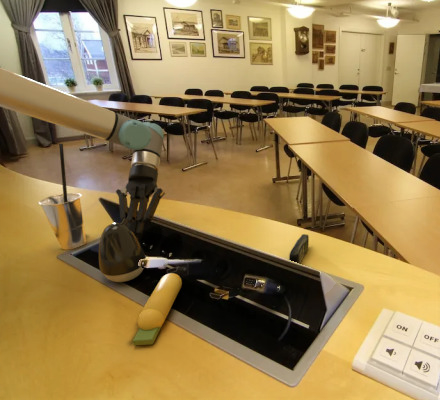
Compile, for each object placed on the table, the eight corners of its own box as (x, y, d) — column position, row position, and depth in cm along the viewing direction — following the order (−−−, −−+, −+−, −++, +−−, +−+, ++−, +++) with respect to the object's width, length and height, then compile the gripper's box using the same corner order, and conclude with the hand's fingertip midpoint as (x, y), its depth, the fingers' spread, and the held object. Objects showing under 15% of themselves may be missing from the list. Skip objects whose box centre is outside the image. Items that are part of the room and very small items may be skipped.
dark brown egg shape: (155, 264, 89) (145, 215, 84) (136, 288, 79) (123, 233, 74) (118, 265, 89) (105, 215, 83) (94, 288, 79) (78, 233, 74)
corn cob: (130, 348, 62) (124, 327, 60) (164, 286, 80) (161, 269, 78) (157, 346, 62) (152, 326, 61) (185, 285, 80) (182, 268, 79)
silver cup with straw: (86, 232, 107) (61, 143, 96) (101, 242, 101) (76, 147, 90) (46, 244, 99) (14, 149, 88) (60, 256, 93) (27, 154, 82)
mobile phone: (298, 256, 85) (311, 230, 99) (287, 254, 86) (301, 229, 99) (298, 271, 87) (311, 244, 101) (288, 270, 88) (301, 243, 101)
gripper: (171, 175, 101) (161, 248, 91) (127, 176, 99) (113, 250, 90) (162, 163, 94) (151, 240, 84) (115, 164, 92) (98, 242, 83)
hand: (131, 245), depth 87 cm, fingers closed
